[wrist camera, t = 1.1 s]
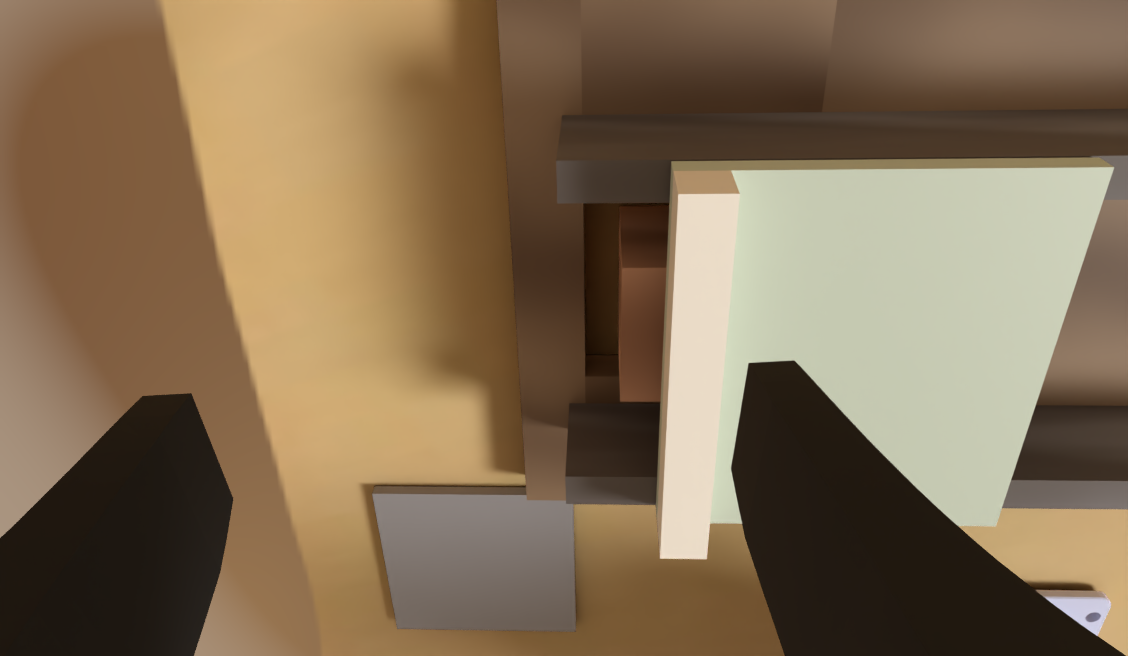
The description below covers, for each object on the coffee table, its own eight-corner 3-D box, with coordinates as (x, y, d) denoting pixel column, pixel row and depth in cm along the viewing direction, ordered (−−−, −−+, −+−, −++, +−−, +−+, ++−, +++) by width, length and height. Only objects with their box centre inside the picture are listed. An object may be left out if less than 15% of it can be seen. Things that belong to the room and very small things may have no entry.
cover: (987, 510, 23) (1016, 562, 21) (655, 507, 23) (660, 558, 21) (1098, 157, 18) (1149, 190, 16) (671, 161, 18) (678, 194, 16)
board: (1184, 481, 28) (1279, 589, 24) (529, 476, 29) (518, 578, 25) (1426, -36, 20) (1634, -2, 16) (501, -18, 21) (477, 17, 17)
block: (748, 325, 26) (770, 402, 22) (617, 325, 26) (620, 401, 22) (760, 203, 24) (787, 267, 20) (619, 204, 24) (621, 268, 20)
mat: (576, 623, 33) (575, 631, 32) (399, 620, 33) (397, 628, 33) (572, 487, 29) (572, 495, 29) (374, 486, 29) (372, 493, 29)
